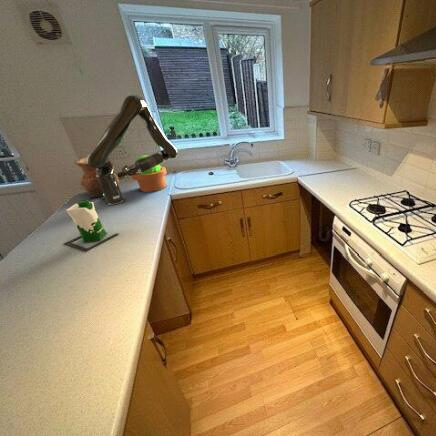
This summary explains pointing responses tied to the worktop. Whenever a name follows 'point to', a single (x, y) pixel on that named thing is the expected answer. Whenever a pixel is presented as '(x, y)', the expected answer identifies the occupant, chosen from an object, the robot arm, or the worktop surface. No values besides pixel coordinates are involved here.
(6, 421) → the worktop surface
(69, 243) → the dark flat u-shaped piece
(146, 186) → the potted cactus
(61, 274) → the worktop surface
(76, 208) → the soya milk
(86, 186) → the jug
